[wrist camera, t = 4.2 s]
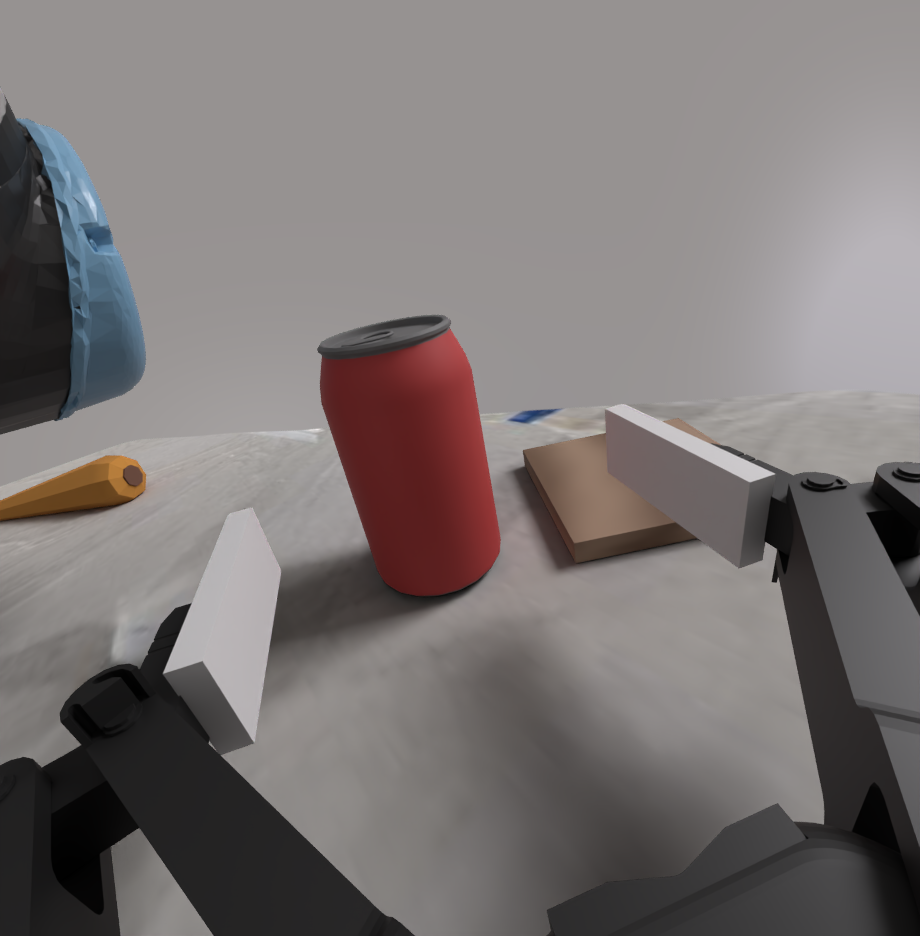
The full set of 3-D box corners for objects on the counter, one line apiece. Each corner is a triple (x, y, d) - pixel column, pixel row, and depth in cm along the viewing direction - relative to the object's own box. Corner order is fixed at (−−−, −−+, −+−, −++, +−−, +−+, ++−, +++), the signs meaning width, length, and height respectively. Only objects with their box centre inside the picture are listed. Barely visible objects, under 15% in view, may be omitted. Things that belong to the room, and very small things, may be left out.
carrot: (161, 496, 41) (147, 448, 41) (118, 505, 36) (102, 451, 36) (-15, 542, 44) (-30, 498, 44) (-75, 555, 39) (-92, 506, 39)
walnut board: (575, 563, 22) (574, 543, 21) (524, 465, 31) (522, 450, 31) (798, 517, 22) (802, 496, 21) (677, 434, 32) (678, 418, 31)
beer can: (359, 564, 25) (282, 347, 19) (453, 510, 28) (409, 311, 23) (423, 627, 20) (343, 359, 14) (529, 553, 23) (495, 311, 18)
